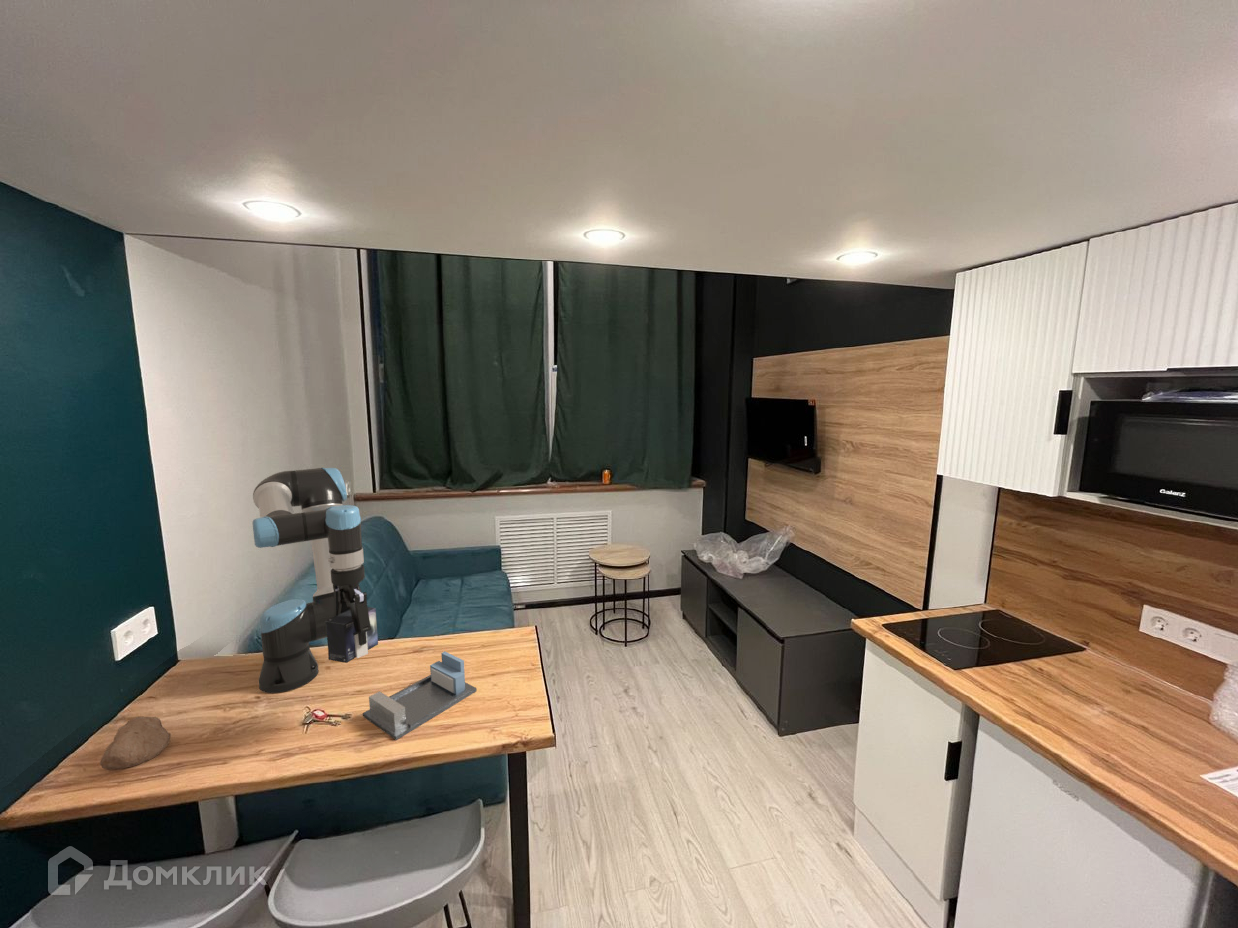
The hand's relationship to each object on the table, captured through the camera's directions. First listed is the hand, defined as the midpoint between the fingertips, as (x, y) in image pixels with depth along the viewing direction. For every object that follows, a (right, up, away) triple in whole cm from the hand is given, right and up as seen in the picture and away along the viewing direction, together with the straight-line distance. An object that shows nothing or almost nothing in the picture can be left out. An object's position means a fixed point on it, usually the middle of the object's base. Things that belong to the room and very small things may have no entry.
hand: (354, 650), depth 128 cm
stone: (-46, -22, -10) cm, 52 cm away
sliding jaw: (+19, -16, +17) cm, 30 cm away
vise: (+13, -19, +9) cm, 25 cm away
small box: (0, -1, 0) cm, 1 cm away
